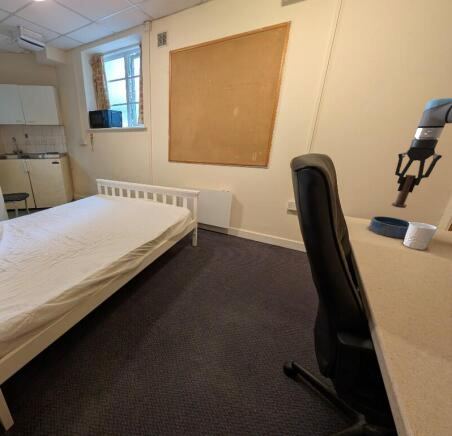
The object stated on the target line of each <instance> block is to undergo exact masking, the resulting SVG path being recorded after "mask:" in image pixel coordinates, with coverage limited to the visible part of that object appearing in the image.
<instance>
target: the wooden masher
mask: <svg viewBox="0 0 452 436" xmlns="http://www.w3.org/2000/svg"><path fill="white" fill-rule="evenodd" d="M404 177H405V180H404V182H403V185H402V187H401V190H400V191H398V194H397V197H396V199H395V202H391V205H390V206H391V207H393V208H398V209H406V208H407V204H406V201H407V199H408V196H409V194H410V189H411V187H412V184H413V182H414V180H415V178H417V175H416V174H405V175H404Z"/></svg>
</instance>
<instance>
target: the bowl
mask: <svg viewBox="0 0 452 436" xmlns="http://www.w3.org/2000/svg"><path fill="white" fill-rule="evenodd" d="M411 222H412V221H408V220H406V219H401V218H397V217H391V216H385V215H384V216H383V215H376V216H372V218H371V220H370V223H369V225H368V229H369V230H371V231H372V232H374V233H376V234H377V235H382V236H385V237H390V238H395V239H405V236H406V232H407V230H408V227H409V224H410V223H411Z"/></svg>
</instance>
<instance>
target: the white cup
mask: <svg viewBox="0 0 452 436" xmlns="http://www.w3.org/2000/svg"><path fill="white" fill-rule="evenodd" d="M410 222H411V223H410V224H409V227H408V230H407V232H406V236H405V238H404V240H403V245H404V246H405V247H407V248H410V249H415V250H421V251H423V250H426V249H427V247H428V245H429V244H430V243H431V240H432V239H433V237H434V235H435V233H436V232H437V230H438V227H436V226H435V225H432V224H429V223H424V222H417V221H410Z"/></svg>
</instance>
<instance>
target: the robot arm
mask: <svg viewBox="0 0 452 436" xmlns="http://www.w3.org/2000/svg"><path fill="white" fill-rule="evenodd" d="M446 124H452V97H445V98H435V99H431V100H429V101H428V102H426V105H425V107H424V110H422V114H421V117H420V120H419V123H418V126H417V128H416V131H415V133H414V135H413V139H412V140H411V144H410V147H409V148H408V149H407V150H406V151H405V152H401V153H398V154H397V157H398V161H397V165H396V168H395V172H394V175H395V176H397V177H398V179H397V181H396V184H397V185H398V188H397V192H399V191H400V190H401V187H402V185H403V182H404V180H405V176H406V174H407V173H408V170H409V169H410V167H411V166H412V164H413V162H414V161H415V162H416V161H417V162H418V161H419V166H418V171H417V176H416V177H415V180H414V182H413V184H412V187H411V189H410V192H409V194H411V193H413V191H414V190H415V189H414V188H415V186H419V185H420V183H421V181H422V179H427V178H429V177H430V175H431V174H432V171H433V170H434V168H435V166H436V164H437V163H438V161H439V160H441V158H443V155H441V154H438V153H436V147H437V145H438V143H439V139H440V138H441V135H442V133H443V130H444V128H445V126H446ZM406 156H407V157H408V161H407V162H406V164H405V166H404V168H402V171H401V167H402V163H403V159H404V158H405V157H406ZM431 157H432V160H431V162H430V164H429V166H428V168H427V169H426V171H425V170H424V168H425V164H426V160H428V159H430V158H431ZM424 171H425V173H424Z"/></svg>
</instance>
